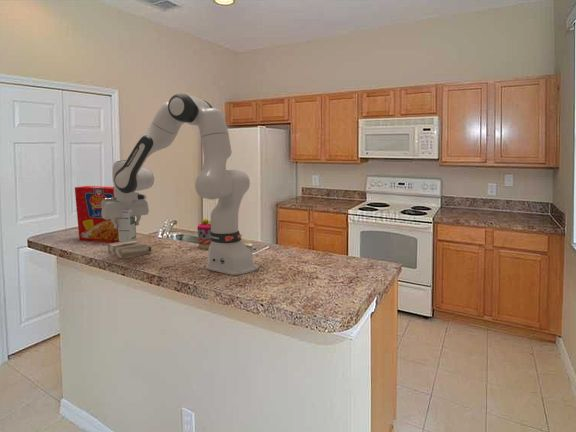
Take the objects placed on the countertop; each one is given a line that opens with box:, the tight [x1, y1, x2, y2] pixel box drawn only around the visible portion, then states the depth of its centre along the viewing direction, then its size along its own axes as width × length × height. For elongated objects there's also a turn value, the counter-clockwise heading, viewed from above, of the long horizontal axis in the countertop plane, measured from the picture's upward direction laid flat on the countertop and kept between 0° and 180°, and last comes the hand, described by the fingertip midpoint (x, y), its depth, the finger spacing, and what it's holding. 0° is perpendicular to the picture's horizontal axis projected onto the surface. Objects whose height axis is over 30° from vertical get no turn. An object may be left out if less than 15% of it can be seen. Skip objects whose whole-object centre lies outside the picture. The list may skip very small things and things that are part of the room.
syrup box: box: [117, 209, 137, 242], centre depth 175 cm, size 6×6×14 cm
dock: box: [107, 239, 152, 260], centre depth 177 cm, size 16×13×4 cm
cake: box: [197, 218, 211, 250], centre depth 188 cm, size 10×11×15 cm
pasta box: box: [74, 185, 122, 244], centre depth 199 cm, size 28×8×28 cm, turn 75°
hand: (126, 226), depth 175 cm, fingers closed on syrup box, 8 cm apart
